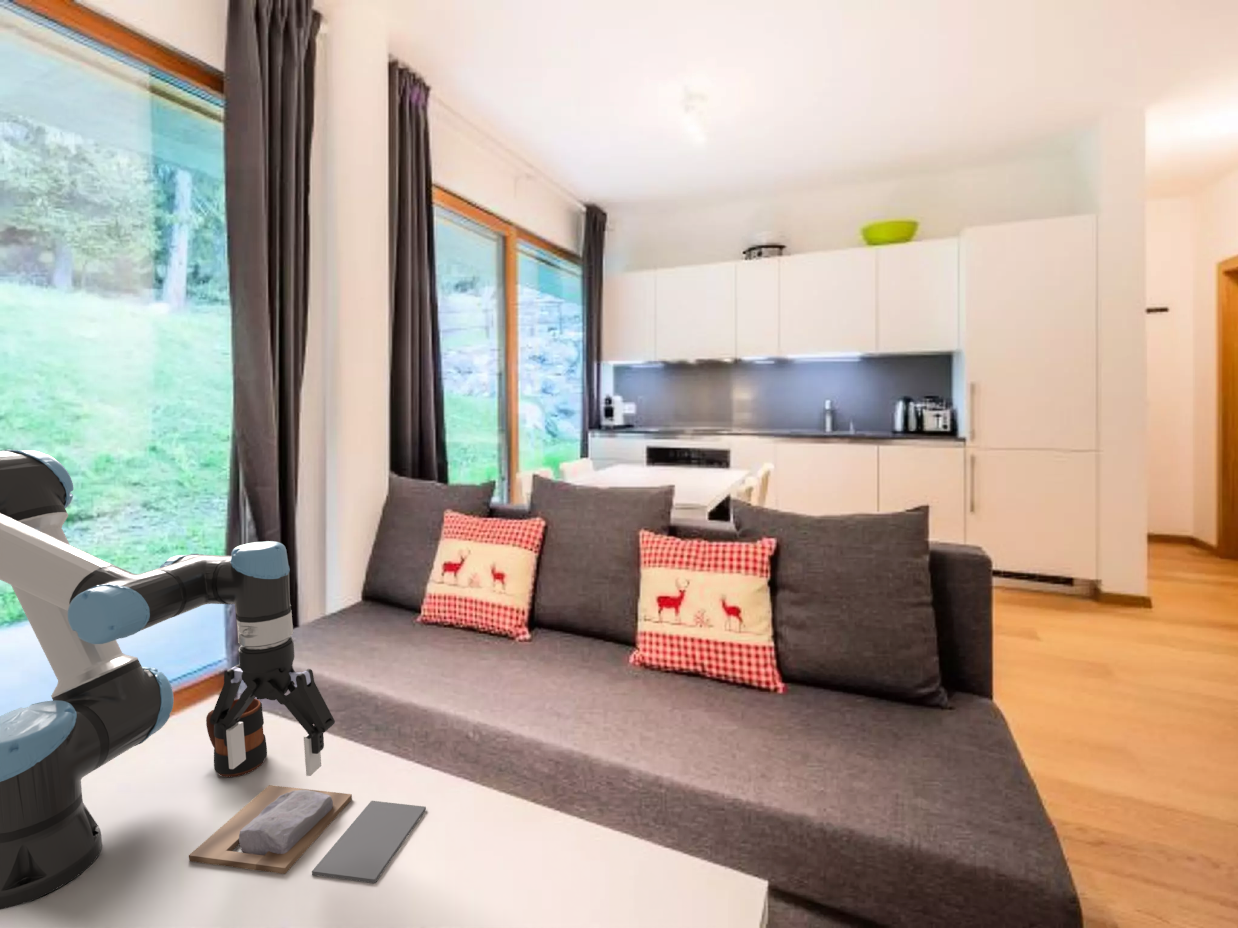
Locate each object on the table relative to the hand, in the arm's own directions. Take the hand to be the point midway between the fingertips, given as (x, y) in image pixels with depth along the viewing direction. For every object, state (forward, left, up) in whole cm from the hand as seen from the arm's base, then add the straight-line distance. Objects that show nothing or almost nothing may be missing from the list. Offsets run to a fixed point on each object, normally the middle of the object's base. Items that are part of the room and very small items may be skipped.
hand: (275, 767), depth 98 cm
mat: (+17, 0, -11) cm, 20 cm away
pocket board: (0, 0, -11) cm, 11 cm away
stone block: (+1, 0, -11) cm, 11 cm away
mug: (-21, +15, -11) cm, 28 cm away
